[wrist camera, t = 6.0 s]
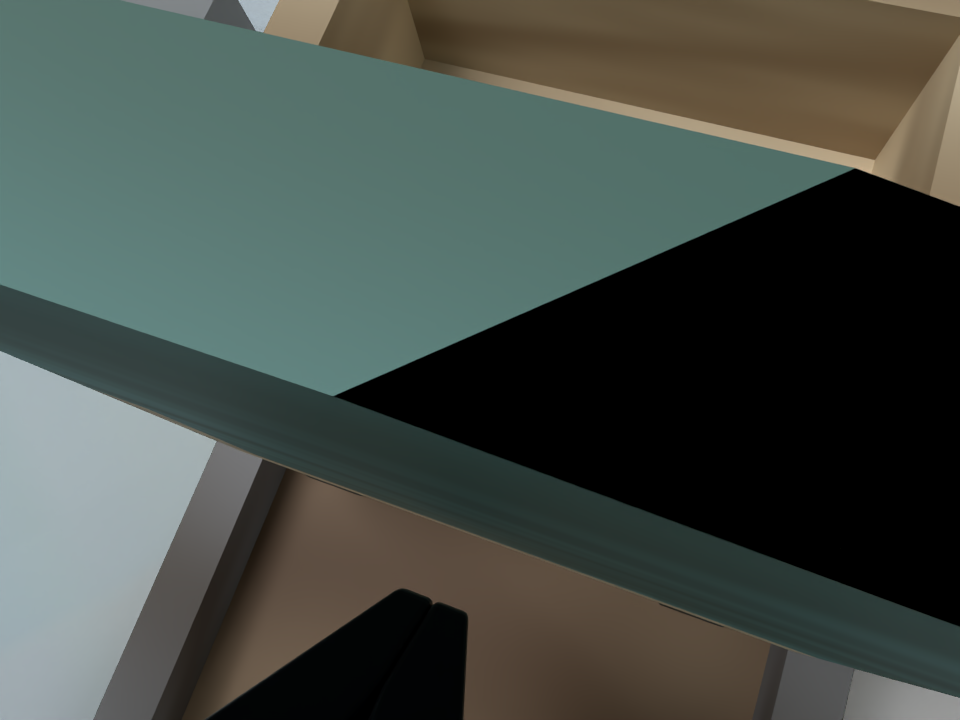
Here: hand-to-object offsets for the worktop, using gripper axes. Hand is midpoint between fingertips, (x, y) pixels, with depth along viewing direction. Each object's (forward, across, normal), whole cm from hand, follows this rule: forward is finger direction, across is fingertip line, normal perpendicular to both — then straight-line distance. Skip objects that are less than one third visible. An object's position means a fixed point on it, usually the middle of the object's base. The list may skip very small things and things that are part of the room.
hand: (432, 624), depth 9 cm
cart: (+8, 0, 0) cm, 8 cm away
